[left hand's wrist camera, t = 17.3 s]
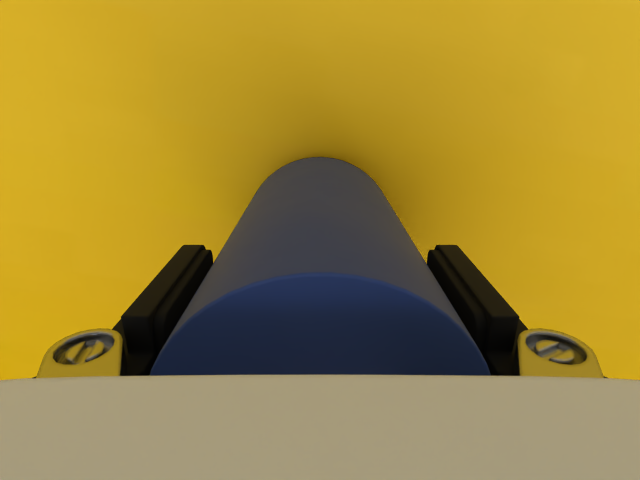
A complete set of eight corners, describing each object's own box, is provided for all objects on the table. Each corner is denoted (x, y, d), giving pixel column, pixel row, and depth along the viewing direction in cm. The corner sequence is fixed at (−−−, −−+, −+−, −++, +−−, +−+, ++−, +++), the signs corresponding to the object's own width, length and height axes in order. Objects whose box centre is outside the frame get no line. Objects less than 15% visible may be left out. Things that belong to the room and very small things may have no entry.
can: (246, 153, 16) (120, 264, 6) (398, 160, 16) (534, 282, 6) (248, 290, 18) (159, 547, 8) (383, 295, 18) (465, 555, 8)
